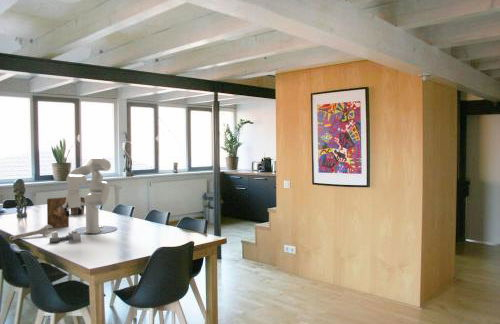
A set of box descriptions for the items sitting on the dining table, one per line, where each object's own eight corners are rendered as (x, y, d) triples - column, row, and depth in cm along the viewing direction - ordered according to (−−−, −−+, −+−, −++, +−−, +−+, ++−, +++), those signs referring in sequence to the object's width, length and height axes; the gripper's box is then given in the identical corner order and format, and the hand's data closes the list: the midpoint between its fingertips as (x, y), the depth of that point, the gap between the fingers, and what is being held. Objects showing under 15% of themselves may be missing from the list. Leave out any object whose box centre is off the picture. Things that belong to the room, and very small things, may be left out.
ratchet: (70, 237, 320) (70, 228, 320) (76, 238, 317) (76, 229, 316) (47, 242, 305) (47, 232, 305) (53, 243, 301) (53, 233, 301)
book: (67, 225, 367) (67, 197, 366) (69, 226, 363) (69, 197, 362) (47, 227, 357) (47, 198, 355) (49, 228, 352) (48, 199, 351)
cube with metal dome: (75, 239, 313) (75, 230, 313) (80, 241, 310) (80, 231, 310) (68, 241, 308) (68, 231, 308) (73, 242, 305) (73, 232, 305)
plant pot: (83, 212, 437) (82, 196, 436) (88, 214, 424) (88, 198, 424) (66, 213, 426) (66, 197, 426) (71, 215, 414) (71, 199, 413)
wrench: (10, 243, 313) (53, 233, 331) (10, 244, 311) (53, 234, 330) (8, 233, 312) (51, 223, 330) (9, 233, 310) (52, 224, 329)
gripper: (81, 191, 317) (81, 213, 318) (59, 192, 303) (59, 216, 303) (86, 191, 313) (87, 214, 313) (65, 193, 299) (65, 217, 299)
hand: (73, 215), depth 308 cm, fingers open, 9 cm apart
